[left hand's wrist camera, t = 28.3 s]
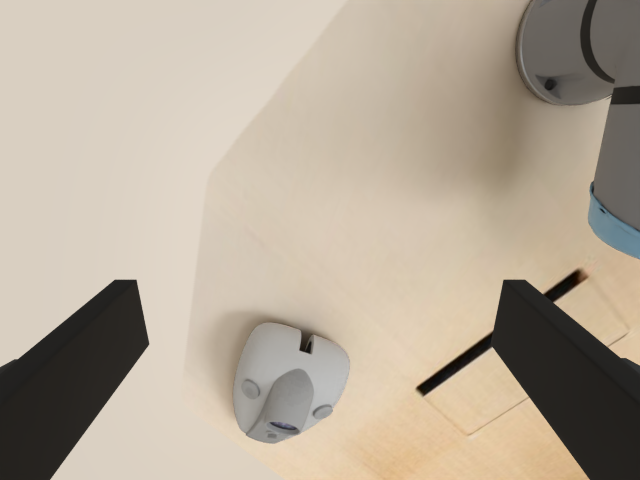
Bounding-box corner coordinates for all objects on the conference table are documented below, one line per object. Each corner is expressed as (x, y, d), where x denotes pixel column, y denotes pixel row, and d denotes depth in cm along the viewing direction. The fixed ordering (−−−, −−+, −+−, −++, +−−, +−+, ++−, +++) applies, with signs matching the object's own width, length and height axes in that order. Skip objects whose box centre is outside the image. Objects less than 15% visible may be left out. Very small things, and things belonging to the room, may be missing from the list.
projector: (191, 343, 57) (149, 417, 43) (317, 288, 53) (316, 349, 40) (258, 435, 64) (241, 524, 50) (374, 391, 60) (390, 474, 46)
